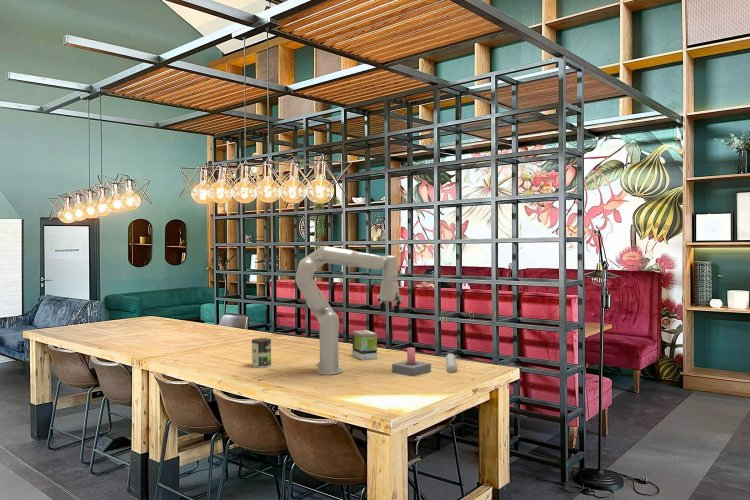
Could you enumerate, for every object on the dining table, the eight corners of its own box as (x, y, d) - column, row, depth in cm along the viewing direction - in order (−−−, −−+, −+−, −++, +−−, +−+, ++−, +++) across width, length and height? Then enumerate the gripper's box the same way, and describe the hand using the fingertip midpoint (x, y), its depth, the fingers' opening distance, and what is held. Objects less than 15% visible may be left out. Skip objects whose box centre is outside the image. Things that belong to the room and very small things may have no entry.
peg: (405, 371, 293) (405, 348, 292) (410, 370, 296) (410, 347, 295) (411, 373, 290) (411, 349, 290) (416, 371, 293) (416, 348, 293)
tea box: (377, 359, 326) (377, 332, 325) (361, 360, 322) (360, 334, 322) (368, 354, 340) (367, 329, 339) (352, 355, 336) (351, 330, 336)
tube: (458, 365, 289) (456, 355, 314) (448, 362, 289) (447, 352, 314) (455, 375, 289) (453, 364, 314) (444, 372, 290) (444, 361, 314)
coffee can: (274, 364, 316) (273, 338, 315) (267, 368, 305) (266, 341, 305) (256, 363, 318) (256, 337, 317) (248, 367, 307) (248, 341, 307)
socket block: (392, 372, 292) (392, 364, 292) (409, 367, 303) (409, 359, 303) (413, 376, 283) (413, 368, 283) (430, 371, 293) (430, 363, 293)
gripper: (372, 278, 302) (372, 311, 303) (397, 280, 290) (397, 314, 291) (382, 278, 308) (382, 310, 308) (407, 279, 296) (407, 313, 296)
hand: (389, 312), depth 299 cm, fingers open, 9 cm apart
